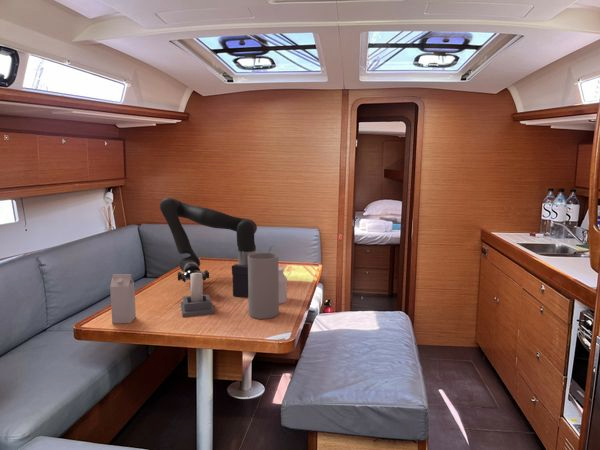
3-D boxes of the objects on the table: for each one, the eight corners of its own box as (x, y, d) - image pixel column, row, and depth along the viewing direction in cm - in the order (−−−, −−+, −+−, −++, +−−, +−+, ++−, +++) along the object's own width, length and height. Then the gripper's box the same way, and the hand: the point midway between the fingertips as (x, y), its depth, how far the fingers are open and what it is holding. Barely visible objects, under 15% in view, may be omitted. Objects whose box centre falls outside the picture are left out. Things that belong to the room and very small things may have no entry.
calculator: (257, 296, 207) (256, 265, 205) (253, 298, 203) (252, 267, 201) (236, 294, 211) (235, 263, 209) (232, 296, 207) (231, 265, 205)
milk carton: (118, 317, 179) (115, 272, 176) (135, 317, 179) (133, 272, 177) (112, 323, 172) (109, 276, 169) (130, 323, 172) (128, 276, 170)
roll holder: (210, 302, 198) (210, 292, 198) (214, 313, 183) (214, 303, 183) (180, 305, 195) (180, 295, 194) (182, 317, 179) (182, 306, 179)
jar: (260, 303, 197) (259, 270, 195) (263, 296, 207) (263, 265, 205) (285, 304, 196) (285, 271, 194) (288, 297, 206) (288, 266, 204)
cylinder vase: (281, 318, 178) (281, 258, 175) (251, 321, 175) (250, 260, 171) (274, 308, 190) (274, 252, 187) (246, 311, 187) (245, 253, 183)
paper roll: (202, 303, 192) (201, 272, 190) (203, 307, 187) (202, 275, 185) (190, 304, 190) (190, 273, 188) (191, 308, 186) (190, 275, 184)
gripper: (176, 264, 210) (177, 272, 195) (206, 262, 215) (210, 270, 199) (177, 279, 211) (178, 288, 196) (206, 277, 216) (210, 285, 201)
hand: (194, 279), depth 198 cm, fingers open, 8 cm apart
